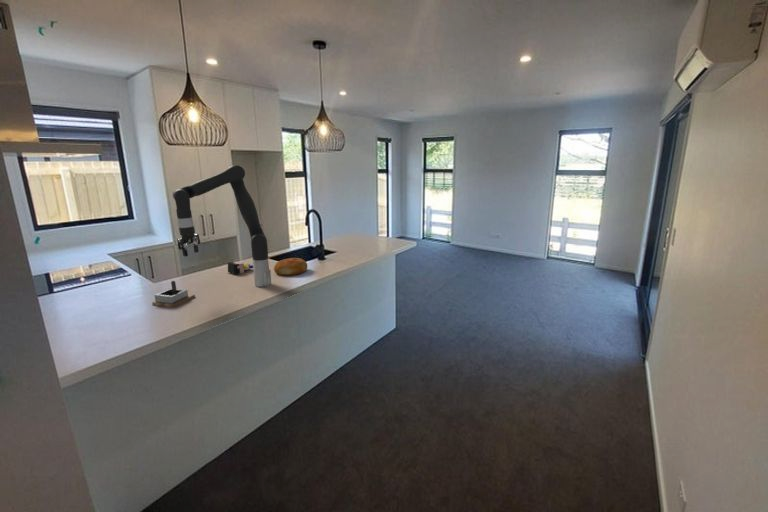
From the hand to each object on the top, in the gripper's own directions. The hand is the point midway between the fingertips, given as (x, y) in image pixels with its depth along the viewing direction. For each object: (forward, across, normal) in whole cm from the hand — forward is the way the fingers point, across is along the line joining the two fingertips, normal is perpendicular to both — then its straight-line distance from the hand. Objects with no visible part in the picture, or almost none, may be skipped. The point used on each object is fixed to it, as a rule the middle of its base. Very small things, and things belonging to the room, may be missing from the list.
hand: (191, 254), depth 193 cm
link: (+23, -11, +8) cm, 27 cm away
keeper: (+25, -9, +7) cm, 27 cm away
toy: (+26, +48, +3) cm, 55 cm away
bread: (+28, +55, -32) cm, 70 cm away
